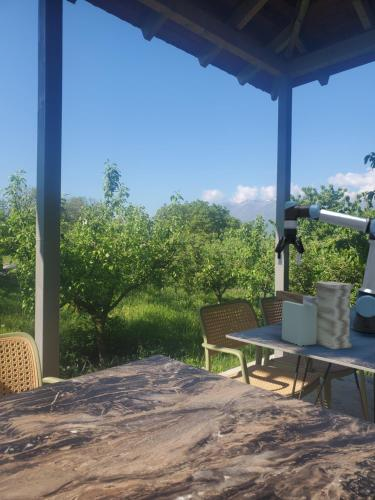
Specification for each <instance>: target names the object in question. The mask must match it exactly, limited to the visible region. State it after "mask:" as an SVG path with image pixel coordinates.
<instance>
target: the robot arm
mask: <svg viewBox="0 0 375 500" xmlns="http://www.w3.org/2000/svg"><path fill="white" fill-rule="evenodd" d="M283 211H284V212H283V214H284V215H283V217H284V218H283V219H284V220H283V225H284V226H283V228H284V229H283V236H282V235H281V236H279V239H278V242H277V244H276V247H275V248H274V253H276V255H277V260H278V261H277V263H278V266H279V265H280V266H282V265H283V253H282V252H283V251H284V250H285V248H286V247H287V246H288V245H292V246H293V247H294V249H295V250H296V251H297V254H296V255H297V256H296V257H297V258H296V265H297V266H298V265H300V266H301V265H302V259H303V254H304V253H306V250H305V247H304V244H303V241H302V237H301V236H297V235H298V219H308V220H310V221H316V222H321V223H325V224H330V225H334V226H338V227H344V228H348V229H352V230H356V231H360V232H363V234H366V235H368V238H367V241H368V242H369V243H370V244H369V251H368V254H367V255H368V256H367V260H366V263H365V270H364V276H363V281H362V286H361V287H360V288H358V290H357V291H356V294H355V296H356V299H355V300H356V301H355V304H354V307H355V318H354V321H353V324H352V325H351V329H352V331H356V332H357V333H364V334H375V217H369V216H368V217H362V216H357V215H353V214H347V213H344V212H337V211H334V210H330V209H323V208H320V205H319V204H299V202H298V201H292V200H291V201H286V202H285V203H284V209H283Z"/></svg>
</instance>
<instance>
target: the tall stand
mask: <svg viewBox="0 0 375 500" xmlns="http://www.w3.org/2000/svg"><path fill="white" fill-rule="evenodd" d="M313 287H316V294H315V297H318V306H317V333H316V344H315V345H320V346H323V347H325V348H328V349H331V350H338V349H347V348H353V343H350V324H351V323H350V322H351V320H350V319H351V312H350V307H351V291H352V290H353V289H355V284H354V283H353V284H352V283H346V282H338V281H313Z"/></svg>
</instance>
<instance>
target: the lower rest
mask: <svg viewBox="0 0 375 500" xmlns="http://www.w3.org/2000/svg"><path fill="white" fill-rule="evenodd" d="M316 333H317V306H308V305H304V304H299V303H295V302H290V301H286V300H282V312H281V340H282V341H286V342H288V343H290V344H293V343H294V344H293V345H296V344H297V345H296V346H299V347H301V346H302V347H303V345H304V346H312V345H317V344H316Z"/></svg>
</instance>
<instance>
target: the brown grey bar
mask: <svg viewBox="0 0 375 500" xmlns="http://www.w3.org/2000/svg"><path fill="white" fill-rule="evenodd" d="M275 299H278V300H281V301H290V302H295V303H299V304H304V305H308V306H318V297H316V296H314V295H313V296H312V295H306V294H303V293H296V292H291V291H288V290H275Z"/></svg>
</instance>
